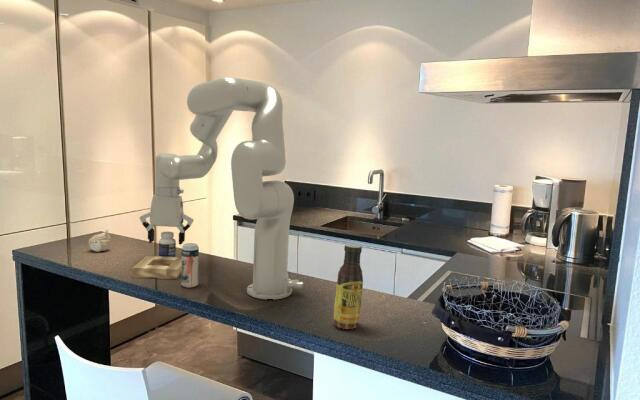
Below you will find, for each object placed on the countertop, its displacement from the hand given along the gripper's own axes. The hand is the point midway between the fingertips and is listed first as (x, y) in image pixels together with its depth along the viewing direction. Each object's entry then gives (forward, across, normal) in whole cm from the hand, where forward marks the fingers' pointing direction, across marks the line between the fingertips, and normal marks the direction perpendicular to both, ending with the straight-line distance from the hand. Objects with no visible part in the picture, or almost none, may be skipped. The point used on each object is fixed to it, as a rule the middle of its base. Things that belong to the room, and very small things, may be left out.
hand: (166, 242), depth 157 cm
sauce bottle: (+5, -56, +47) cm, 74 cm away
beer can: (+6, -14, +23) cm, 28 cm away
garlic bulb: (+7, +26, -9) cm, 28 cm away
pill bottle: (+6, 0, 0) cm, 7 cm away
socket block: (+6, -2, +12) cm, 14 cm away
